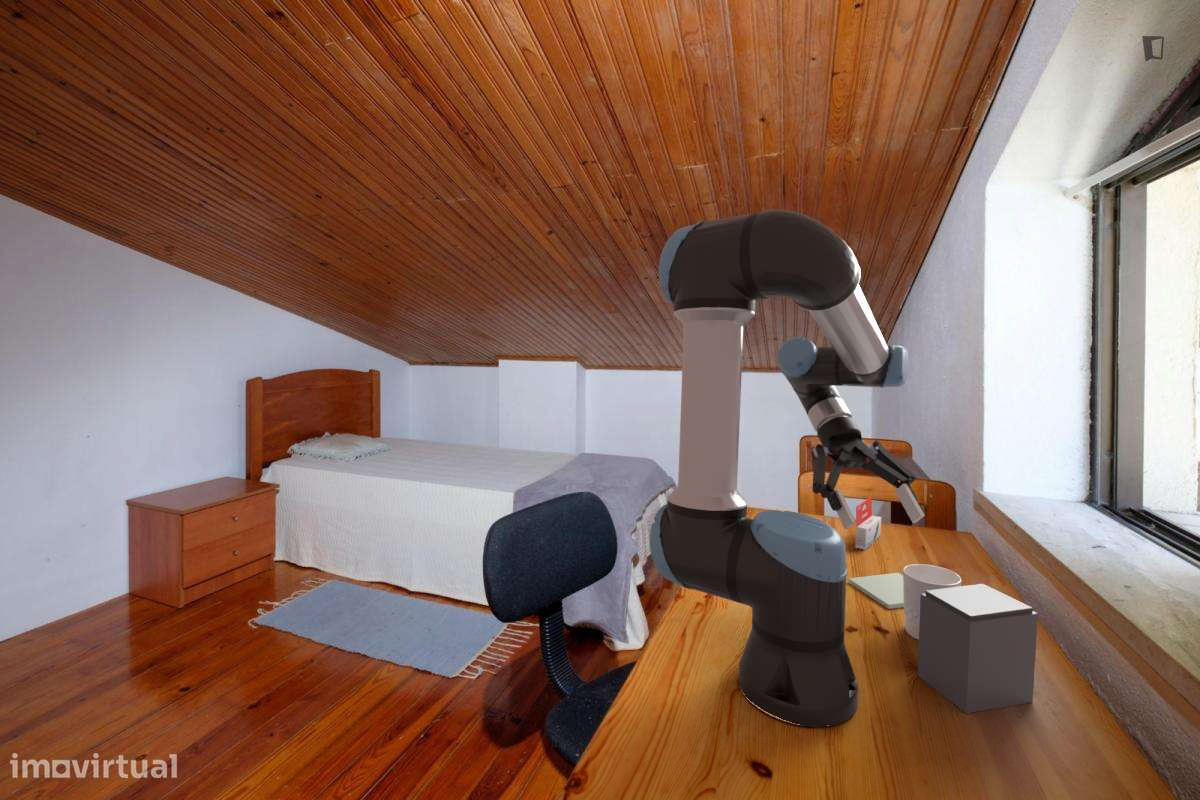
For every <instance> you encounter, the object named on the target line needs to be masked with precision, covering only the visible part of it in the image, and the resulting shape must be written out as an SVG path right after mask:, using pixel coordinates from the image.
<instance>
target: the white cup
mask: <svg viewBox="0 0 1200 800" xmlns="http://www.w3.org/2000/svg"><path fill="white" fill-rule="evenodd" d="M902 575H903V600H904V607H903V614H904V629H905V631H906V633H907V634H908V635H909V636H910V637H912V638H913V639H916V640H917V641H919V625H920V599H921V594H923V593H926V591H927V590H935V589H943V588H951V587H959V586H962V577H961V576H960V575H959V574H958V573H957V572H955V571H953V570H950V569H948V568H945V567H941V566H938V565H932V564H925V563H924V564H923V563H916V564H915V563H914V564H913V563H912V564H908V565H906V566H904V567H903V568H902Z"/></svg>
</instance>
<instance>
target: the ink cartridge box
mask: <svg viewBox="0 0 1200 800" xmlns="http://www.w3.org/2000/svg"><path fill="white" fill-rule="evenodd" d="M872 498H873V497H872V496H869V497H868V498H867V499H865V500H864V501H862V502H861V503H860V504H858V505H857V506H856V507H855V511H856V514H855V516H856V519H855V521H856V523H855V524H856V525H855V526H856V528H855V544H854V547H855V549H857V548H860V549H859V550H861V549H864V550H863V551H867V550H868V549H869V548H870V547H871V546H872V545H873V544H874V543H873V542H874V541H875V540H876V539H877V538H878V537H879V536H880V537H881V534H882V533H881V530H882V517H881V516H875V515H873V509H872V508H873V502H872ZM864 505H865V508H864ZM863 508H864V509H863ZM872 543H873V544H872ZM871 544H872V545H871ZM870 545H871V546H870ZM869 546H870V547H869ZM868 547H869V548H868ZM867 548H868V549H867ZM866 549H867V550H866Z"/></svg>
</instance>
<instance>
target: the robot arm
mask: <svg viewBox="0 0 1200 800" xmlns="http://www.w3.org/2000/svg"><path fill="white" fill-rule="evenodd" d="M859 264H860V263H859V262H858V260H857V257H856V256H855V254H854V252H853V250H852V248H851V247H850V246H849V244H848V243H846V240H844V239H843V238H842V237H841V236H839V235H838V234H837V233H836V232H835V231H834V230H833V229H831V228H830V227H828V226H827V225H825V224H823V223H822V222H820V221H819V220H817V219H816V218H813V217H811V216H808V215H806V214H804V213H801V212H797V211H793V210H789V209H775V208H774V209H768V210H763V211H761V212H760V211H759V212H755V213H749V214H743V215H736V216H730V217H725V218H720V219H713V220H703V221H699V222H696V223H695V224H692V225H691V224H690V225H687V226H684V227H680V228H679V229H677V230H675V231H674V232H673V233H672V235H671V236H670V237H669V238H668V239H667V241H666V243H665V245H664V246H663V249H662V252H661V254H660V259H659V265H658V282H659V286H660V287H661V288H662V289H661V294H662V296H663V297H664V299H665V300H666V301H667V302H668V303H669V304H670V305H672V306H673V316H674V317H675V318H677V320H679V322H680V323H682V326H683V337H682V341H683V343H682V364H681V365H682V367H681V392H680V393H681V394H680V418H679V419H680V422H679V423H680V425H679V450H678V453H679V454H678V474H677V475H678V477H677V479H678V480H677V482H678V483H677V486H676V488H675V489H673V490H672V491H671V492H670V493H669V494H668V495H667V501H666V502H667V503H666V504H663V505H662V506H661V507H660V508H659V509H658V510H657V511H656V513H655V515H654V517H653V520H654V522H652V524H651V526H650V533H649V549H650V555H651V558H652V562H653V565H654V566H655V568H656V570H657V571H658V573H660V574H661V576H662V577H663V578H664V579H666V580H668V581H670V582H672V583H675V584H678V585H680V586H681V587H682V588H685V589H687V590H695V591H699V592H701V593H705V594H709V595H712V596H715V597H717V598H721V599H726V600H727V601H732V602H735V603H739V604H742V605H746V606H748V607H750V608H751V614H752V615H751V630H750V632H749V636H748V637H747V641H746V644H745V647H744V650H743V652H742V656H741V658H740V661H739V663H738V685H739V684H740V686H739V688H740V687H741V689H742V691H743V693H744V694H745V696H746V697H747V698H748V699H749V700H750V701H751V702H753V703H754V704H755V705H757V706H758V707H760V708H761V709H763V710H764V711H766V712H768V713H770V714H772V715H774V716H777V717H779V718H781V719H783V720H786V721H789V722H792V723H795V724H800V725H803V726H802V727H804V726H811V727H810V728H814V727H813V726H816V727H815V728H818V727H817V726H827V725H834V724H837V725H839V724H838V723H840V722H842V721H845V720H846V721H848V720H849V719H851V718H852V717H853V716H854V715H855V713H856V711H857V710H858V704H859V687H858V685H859V684H858V681H857V679H856V674H855V672H854V668H853V666H852V663H851V659H850V655H849V653H848V649H847V648H846V647H847V646H846V644H845V632H846V631H845V628H846V627H845V626H846V598H847V597H846V596H847V595H846V594H847V577H848V574H849V573H848V572H849V571H848V566H847V555H846V544H845V543H846V542H845V541H844V538H843V537H842V535H841V534H840V533H839V532H838V531H837V529H835V528H834V527H833V526H831V525H830V524H828V523H827V522H825V521H823V520H821V519H818V518H816V517H813V516H811V515H807V514H804V513H800V512H797V511H795V512H794V511H790V510H784V511H780V510H778V509H776V510H775V509H770V510H764V511H760V512H758V513H757V514H755V515H754V517H753V518H749V517H748V515H747V514H748V501H747V500H746V498H744V497H743V495H742V494H740V492H739V491H738V475H739V474H738V471H739V470H738V469H739V449H740V448H739V447H740V444H739V443H740V442H739V441H740V425H741V424H740V420H741V393H742V391H741V390H742V371H743V370H742V369H743V368H742V367H743V345H744V328H745V326H746V324H748V322H749V321H750V320H751V319H753V317H755V315H756V313H755V312H756V300H757V301H758V300H768V299H777V298H780V299H791V300H792V301H793V302H794V303H795V305H797V306H798V307H799V308H801V309H802V310H806V311H808V312H809V313H810V315H811V316H812V318H813V319H814V321H815V322H816V324H817V325H818V327H819V328H820V330H821V331H822V333H823V335H825V338H826V339H827V340H828V343H830V346H816V344H814V343H813V341H811V339H809V338H806V337H802V336H796V337H793V338H790V339H788V340H787V341H785V342H784V343H782V344H781V346H780V347H779V348H778V351H777V354H776V360H777V364H778V366H779V368H780V371H781V373H782V374H783V376H784V377H785V379H787V382H788V383H789V385H790V386H791V388H792V389H793V391H794V393H795V395H797V397H798V400H799V401H800V403H801V405H802V406H803V409H804V411H805V413H806V415H807V417H808V419H809V421H810V423H811V425H812V427H813V429H814V432H816V435H817V438H818V440H819V442H820V443H818V444H816V445H815V447H814V448H813V449H812V451H811V455H812V458H813V474H812V488H811V489H812V490H811V491H812V493H813V494H816V495H817V494H820V497H822V498H823V499H827V502H828V504H829V506H830V508H831V510H832V511H835V512H836V513H837V516H838V517H839V520H840V522H841V524H842V527H843V528H844V530H850V528H852V527H853V526H854V524H856V519H855V516H854V514H853V513H852V511H851V509H850V507H849V505H848V503H847V501H846V498H845V496H844V494H843V493H842V490H841V489H840V488H839V489H838V488H836V485H837V484H838V480H839V479H840V475H841V473H842V470H843V468H845V469H850V468H855V469H856V468H857V469H858V468H862V469H863V470H866V471H870V472H872V473H873V474H874V475H876V476H878V477H879V478H881V479H882V480H884V481H886V482H887V483H889V484H890V485H892V486H893V487H895V488H896V489H895V491H894V492H895V494H896V495H897V497H898V499H899V502H900V503H901V504H902V506H903V508H904V510H905V512H906V514H907V515H908V518H909V520H910V521H911V522H912V523H913V524H915V523H918V522H919V521H920V520H921V519H922V518H923V517H925V516H926V515H925V513H924V512H923V510H922V508H921V507H920V504H919V503H918V497H917V495H916V492H915V491H914V489H913V488H912V486H911V485H912V484H913V483H914V482H915V481H916V480H917V476H916V475H915V474H914V473H913V472H912V471H911V470H910V469H908V468H907V467H906V466H905V465H903V463H901V462H900V461H899V460H898V459H897V458H895V456H894V455H892V454H891V453H890V452H889V451H888V450H886V448H885V447H884V446H883V445H882V443H881V442H880V440H875V441H873V443H869V444H867V443H866V442H864V440H863V438H862V432H861V429H860V428H859V427H858V424H857V423H856V421H855V419H854V418H853V415H852V413H851V411H850V410H849V408H848V406H847V405H846V403H845V400H843V398H842V397H841V395H840V393H839V390H838V389H837V387H838V386H839V387H841V386H842V387H861V388H862V387H864V388H865V387H867V388H880V389H884V388H899V387H902V386H903V385H904V384H905V383H906V381H907V379H908V375H909V374H908V373H909V365H910V364H909V352H908V349H907V348H906V347H905V346H902V345H893V344H888V345H887V343H886V341H885V338H884V337H883V334H882V333H881V330H880V328H879V326H878V324H877V321H876V319H875V317H874V315H873V312H872V310H871V307H870V306H869V304H868V302H867V299H866V297H865V295H864V293H863V291H862V288H861V287H860V286H861V285H859V283H860V280H861V275H862V274H861V266H860V265H859ZM827 457H828V458H830V460H833V462H832V465H831V467H830V472H829V474H828V477H827V480H826V465H827V464H826V460H827V459H826V458H827ZM867 459H868V461H867ZM741 689H740V690H741ZM742 691H741V692H742ZM743 693H742V694H743ZM745 696H744V697H745ZM852 715H853V716H852ZM851 716H852V717H851ZM850 717H851V718H850ZM847 719H848V720H847ZM846 721H845V722H846ZM840 724H841V723H840ZM834 726H835V725H834Z"/></svg>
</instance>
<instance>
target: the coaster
mask: <svg viewBox="0 0 1200 800" xmlns="http://www.w3.org/2000/svg"><path fill="white" fill-rule="evenodd" d="M848 583H849V584H850V585H852V586H853V587H855V588H856V589H858V590H859V591H861V592H862V593H864V594H865V595H867V596H868V597H870V598H871V599H872V600H874V601H876V602H877V603H879V604H880V605H882V607H884V608H887V609H888V610H892V609H899V608H900V609H901V608H904V600H903V573H902V574H901V573H900V572H893V573H885V574H876V575H868V576H865V575H864V576H858V577H849V578H848Z"/></svg>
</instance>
